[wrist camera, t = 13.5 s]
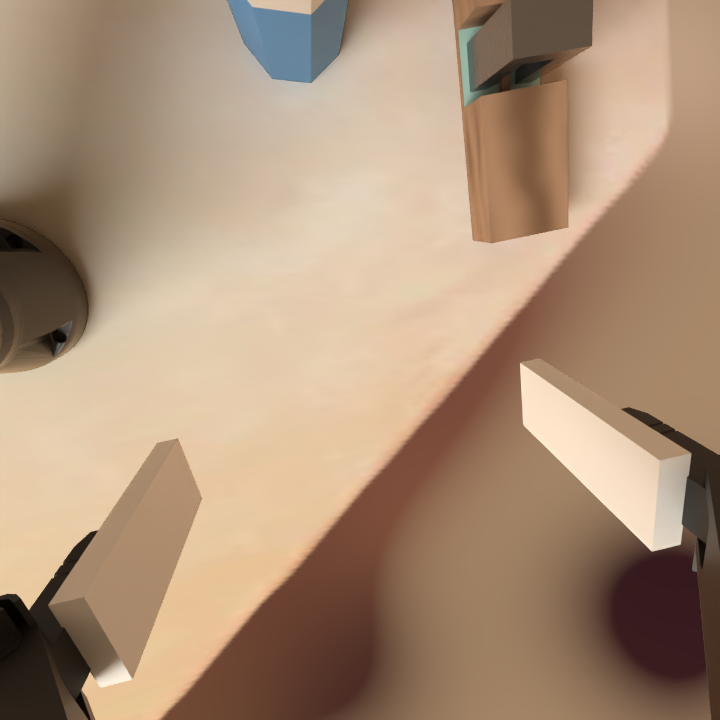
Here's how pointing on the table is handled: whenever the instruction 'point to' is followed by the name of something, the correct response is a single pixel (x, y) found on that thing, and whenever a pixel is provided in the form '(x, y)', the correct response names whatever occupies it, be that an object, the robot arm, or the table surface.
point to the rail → (511, 144)
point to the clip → (528, 40)
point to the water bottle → (291, 34)
